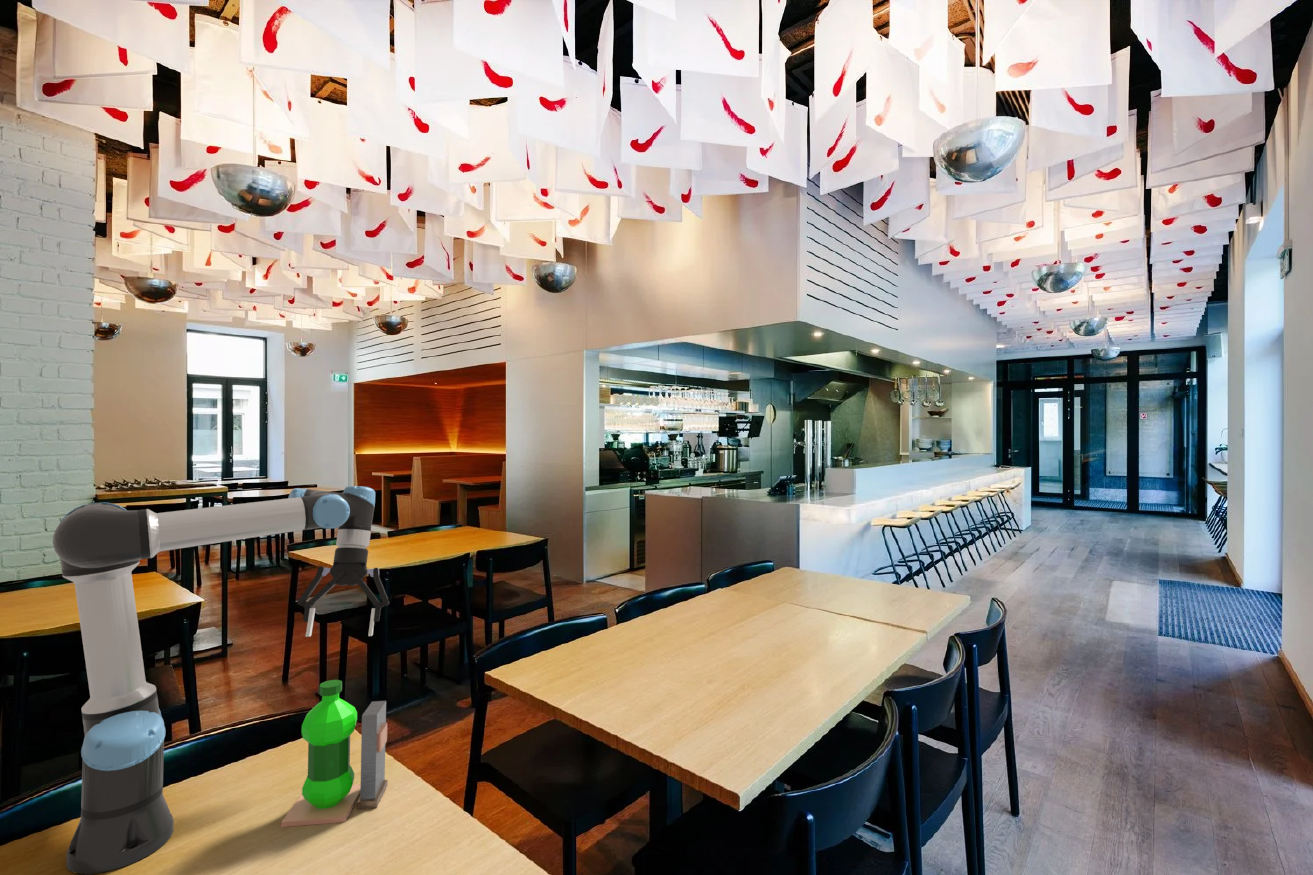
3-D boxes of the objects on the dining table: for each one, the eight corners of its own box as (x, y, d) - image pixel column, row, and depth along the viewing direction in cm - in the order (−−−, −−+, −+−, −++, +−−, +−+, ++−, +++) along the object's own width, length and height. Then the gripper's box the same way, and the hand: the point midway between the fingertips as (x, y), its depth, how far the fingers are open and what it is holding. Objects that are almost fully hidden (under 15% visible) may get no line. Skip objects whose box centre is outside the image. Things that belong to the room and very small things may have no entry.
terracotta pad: (281, 826, 120) (281, 821, 120) (305, 792, 132) (306, 787, 132) (345, 821, 122) (345, 816, 122) (363, 788, 134) (363, 783, 134)
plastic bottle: (295, 820, 121) (298, 696, 121) (307, 791, 131) (309, 677, 131) (350, 811, 124) (353, 690, 124) (357, 783, 134) (360, 671, 134)
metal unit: (356, 809, 126) (358, 716, 126) (368, 787, 134) (370, 700, 134) (377, 807, 127) (379, 715, 127) (387, 786, 135) (389, 699, 135)
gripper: (406, 550, 158) (396, 634, 153) (299, 547, 150) (284, 635, 145) (404, 548, 152) (394, 636, 146) (293, 544, 144) (277, 637, 138)
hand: (339, 636), depth 145 cm, fingers open, 13 cm apart
